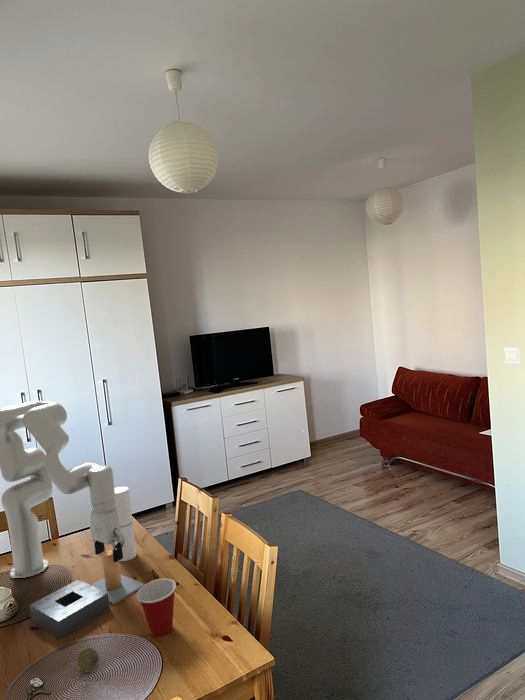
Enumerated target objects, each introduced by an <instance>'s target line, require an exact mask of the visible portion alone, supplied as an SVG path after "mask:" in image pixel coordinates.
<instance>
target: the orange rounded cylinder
mask: <svg viewBox="0 0 525 700" xmlns="http://www.w3.org/2000/svg"><path fill="white" fill-rule="evenodd" d="M113 550H114V549H109V550H105V551H104V552H102V553H101V562H102V568H103V578H105V586H106V590H109V591H112V590H116V589H118V588H120V587H121V585H122V583H121V575H122V574H121V567H120V561H117V562H114V560H113Z"/></svg>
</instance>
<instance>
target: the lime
mask: <svg viewBox="0 0 525 700" xmlns="http://www.w3.org/2000/svg"><path fill="white" fill-rule="evenodd" d="M98 654H99V653H98V652H97V650H95V649H94V648H92V647H88V648H85V649H84V650H82V651H81V653H80V654H79V655H78V658H77V665H78V667H79V668H80V670H81V671H82V672H85V673H91V672H92V671H93V670H95V669H96V667H97V665H98V662H99V655H98Z"/></svg>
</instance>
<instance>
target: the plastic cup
mask: <svg viewBox="0 0 525 700" xmlns="http://www.w3.org/2000/svg"><path fill="white" fill-rule="evenodd" d="M144 584H145V583H144ZM176 585H177V583H176V581H174V580H173V579H169V578H159V579H158V578H157V579H155V580H151V581H150V582H148V583H146V584H145V585H144V586H143V587H141V588H140V589H139V590H137V591H136V600H137V601H138V602H139V603H140V605H141V608H142V610H143V613H144V616H145V619H146V623H147V624H148V627H149V631H150V634H152V636H154V637H164V636H165V635H168V634H169V633H170V632H172V630H171V629H173V624H174V622H173V621H174V620H173V619H174V607H175V605H174V603H175V602H174V601H175V592H176V589H177V586H176Z"/></svg>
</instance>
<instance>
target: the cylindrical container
mask: <svg viewBox="0 0 525 700" xmlns="http://www.w3.org/2000/svg"><path fill="white" fill-rule="evenodd" d="M129 489H130V488H129V487H128V486H117V487H114V490H115V499H116V510H117V514H118V518H119V524H120V531H121V533H122V534H123V536H124V537H125V540H124V544H123V547H122V552H123V559H121V560H119V562H127V561H131V560H133V559H134V558H136V556H137V550H136V549H137V548H136V541H135V532H134V525H133V517H132V514H133V513H132V506H131V505H132V504H131V499H130V491H129ZM114 539H115V538H113V540H114ZM114 543H115V545H116V544H117V543H118V542H117V541H116V542H114Z"/></svg>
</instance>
